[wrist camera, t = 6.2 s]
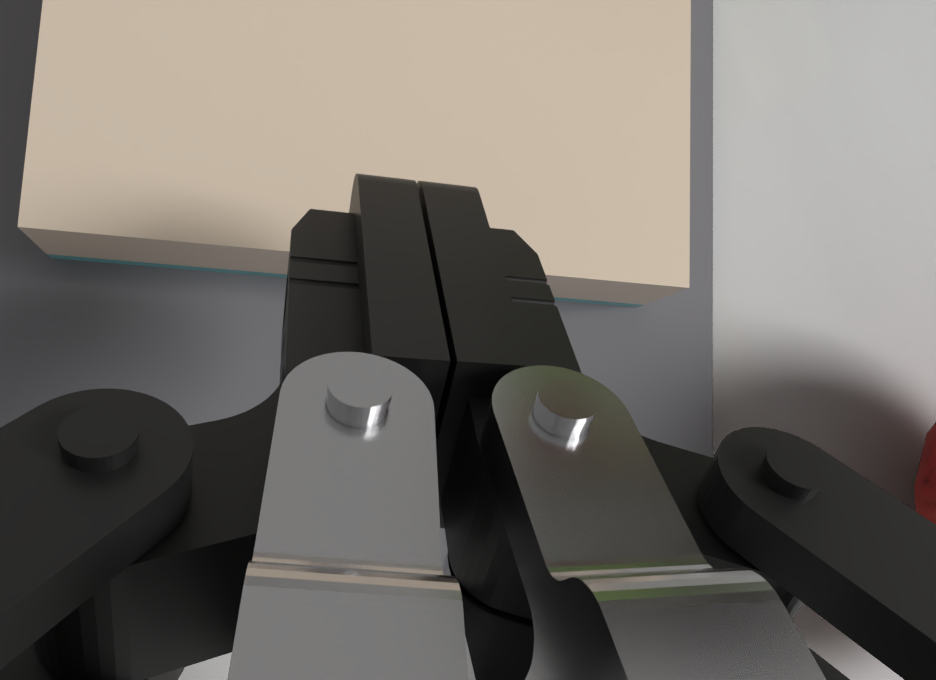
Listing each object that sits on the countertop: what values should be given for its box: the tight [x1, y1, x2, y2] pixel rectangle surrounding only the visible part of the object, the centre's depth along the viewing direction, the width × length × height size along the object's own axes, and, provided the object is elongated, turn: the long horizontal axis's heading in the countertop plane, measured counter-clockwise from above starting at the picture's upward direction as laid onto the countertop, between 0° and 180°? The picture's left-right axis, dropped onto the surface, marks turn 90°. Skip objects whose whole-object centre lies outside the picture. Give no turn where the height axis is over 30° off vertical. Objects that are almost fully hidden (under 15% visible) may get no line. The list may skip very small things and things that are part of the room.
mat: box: [0, 0, 713, 568], centre depth 15 cm, size 15×13×1 cm
